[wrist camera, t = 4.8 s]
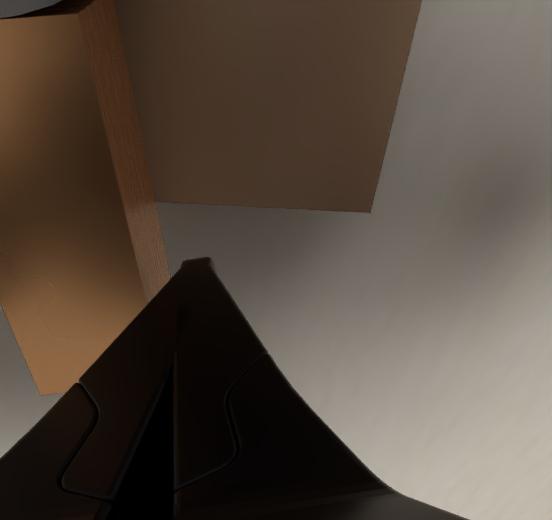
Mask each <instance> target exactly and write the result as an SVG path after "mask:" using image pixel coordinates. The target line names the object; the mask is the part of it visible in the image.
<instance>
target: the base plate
mask: <svg viewBox="0 0 552 520" xmlns="http://www.w3.org/2000/svg"><path fill="white" fill-rule="evenodd" d="M114 2H115V7H116V12H117V17H118V21H119V26H120V31H121V36H122V41H123V46H124V51H125V56H126V61H127V66H128V71H129V76H130V81H131V86H132V91H133V96H134V101H135V106H136V111H137V116H138V121H139V126H140V131H141V136H142V141H143V146H144V150H145V155H146V160H147V165H148V170H149V175H150V180H151V185H152V190H153V195H154V200H155V201H156V202H175V203H194V204H213V205H232V206H251V207H270V208H289V209H308V210H327V211H346V212H364V213H371V209H372V204H373V200H374V196H375V192H376V188H377V184H378V180H379V176H380V171H381V167H382V163H383V159H384V155H385V151H386V147H387V143H388V138H389V134H390V130H391V126H392V122H393V118H394V114H395V110H396V105H397V101H398V97H399V93H400V89H401V85H402V81H403V77H404V72H405V68H406V64H407V60H408V56H409V52H410V48H411V44H412V39H413V35H414V31H415V27H416V23H417V19H418V15H419V11H420V6H421V2H422V0H114Z"/></svg>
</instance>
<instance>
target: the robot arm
mask: <svg viewBox="0 0 552 520" xmlns="http://www.w3.org/2000/svg"><path fill="white" fill-rule="evenodd" d="M78 382H79V383H74V384H73V386H72V387H71V388H70V389H69V390H68V391H67V392H66V393H65V394H64V395H63V396H62V398H61V399H60V400H59V401H58V402H57V403H56V404H55V405H54V406H53V407H52V408H51V409H50V410H49V411H48V412H47V413H46V414H45V415H44V416H43V417H42V418H41V419H40V420H39V422H38V423H37V424H36V425H35V426H34V427H33V428H32V429H30V430H29V431H28V432H27V433H26V434H25V435H24V436H23V437H22V438H21V439H20V440H19V441H18V442H17V443H16V444H15V445H14V446H13V447H12V448H11V449H10V450H9V451H7V452H6V453H5V454H4V455H3V456H2V457H1V458H0V520H469V519H466V518H463V517H461V516H458V515H455V514H453V513H450V512H447V511H445V510H442V509H439V508H436V507H434V506H431V505H428V504H426V503H423V502H420V501H418V500H415V499H412V498H410V497H407V496H405V495H402V494H401V493H399V492H397V491H395V490H394V489H392V488H391V487H389V486H388V485H387V484H385V483H384V482H383V481H382V480H380V479H379V478H378V477H377V476H376V475H375V474H374V473H373V472H372V471H371V470H370V469H369V468H367V467H366V466H365V465H364V464H363V462H362V461H361V460H360V459H359V458H358V457H357V456H356V455H355V454H354V453H353V452H352V451H351V450H350V449H349V448H348V447H347V446H346V445H345V444H344V443H343V441H342V440H341V439H340V438H339V437H338V436H337V435H336V434H335V433H334V432H333V431H332V430H331V429H330V428H329V427H328V426H327V425H326V424H325V423H324V422H323V420H322V419H321V418H320V417H319V416H318V415H317V414H316V413H315V412H314V411H313V410H312V409H311V408H310V407H309V405H308V404H307V403H306V402H305V401H304V400H303V399H302V397H301V396H300V395H299V394H298V393H297V392H296V391H295V389H294V388H293V387H292V386H291V384H290V383H289V382H288V380H287V379H286V377H285V376H284V375H283V373H282V372H281V371H280V369H279V368H278V366H277V365H276V363H275V362H274V360H273V359H272V357H271V356H270V355H269V354H268V352H267V350H266V349H265V347H264V346H263V344H262V342H261V341H260V339H259V338H258V336H257V335H256V333H255V332H254V330H253V329H252V327H251V326H250V324H249V323H248V321H247V320H246V318H245V317H244V315H243V314H242V312H241V311H240V309H239V307H238V306H237V304H236V303H235V301H234V300H233V298H232V297H231V295H230V294H229V292H228V291H227V289H226V288H225V286H224V285H223V283H222V282H221V280H220V279H219V277H218V275H217V274H216V271H215V267H214V263H213V260H212V259H211V258H210V257H203V258H197V259H190V260H185V261H183V263H182V265H181V268H180V269H179V270H178V271H177V272H176V273H175V275H174V276H173V277H172V278H171V279H170V280H169V281H168V282H167V283H166V284H165V285H164V287H163V288H162V289H161V290H160V291H159V292H158V293H157V294H156V295H155V296H154V297H153V299H152V300H151V301H150V302H149V303H148V304H147V305H146V306H145V307H144V308H143V309H142V311H141V312H140V313H139V314H138V315H137V316H136V317H135V318H134V319H133V320H132V321H131V323H130V324H129V325H128V326H127V327H126V328H125V329H124V330H123V331H122V332H121V333H120V335H119V336H118V337H117V338H116V339H115V340H114V341H113V342H112V343H111V344H110V345H109V347H108V348H107V349H106V350H105V351H104V352H103V353H102V354H101V355H100V356H99V357H98V359H97V360H96V361H95V362H94V363H93V364H92V365H91V366H90V367H89V368H88V369H87V371H86V372H85V373H84V374H83V375H82V376H81V377H80V378H79V380H78Z"/></svg>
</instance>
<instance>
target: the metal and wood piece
mask: <svg viewBox="0 0 552 520" xmlns="http://www.w3.org/2000/svg"><path fill="white" fill-rule="evenodd" d="M169 280H170V274H169V270H168V265H167V260H166V255H165V250H164V245H163V240H162V235H161V230H160V225H159V220H158V215H157V210H156V205H155V200H154V195H153V190H152V185H151V180H150V175H149V170H148V165H147V160H146V155H145V150H144V146H143V141H142V136H141V131H140V126H139V121H138V116H137V111H136V106H135V101H134V96H133V91H132V86H131V81H130V76H129V71H128V66H127V61H126V56H125V51H124V46H123V41H122V36H121V31H120V26H119V21H118V17H117V12H116V7H115V2H114V0H0V303H1V306H2V308H3V310H4V313H5V315H6V317H7V320H8V322H9V324H10V326H11V329H12V331H13V333H14V336H15V338H16V340H17V342H18V345H19V347H20V349H21V352H22V354H23V356H24V359H25V361H26V363H27V365H28V368H29V370H30V372H31V375H32V377H33V379H34V381H35V384H36V386H37V388H38V391H39V393H40V395H47V394H55V393H63V392H67V391H68V390H69V389H70V388H71V387H72V386H73V384H74V383H79V382H78V380H79V378H80V377H81V376H82V375H83V374H84V373H85V372H86V371H87V369H88V368H89V367H90V366H91V365H92V364H93V363H94V362H95V361H96V360H97V359H98V357H99V356H100V355H101V354H102V353H103V352H104V351H105V350H106V349H107V348H108V347H109V345H110V344H111V343H112V342H113V341H114V340H115V339H116V338H117V337H118V336H119V335H120V333H121V332H122V331H123V330H124V329H125V328H126V327H127V326H128V325H129V324H130V323H131V321H132V320H133V319H134V318H135V317H136V316H137V315H138V314H139V313H140V312H141V311H142V309H143V308H144V307H145V306H146V305H147V304H148V303H149V302H150V301H151V300H152V299H153V297H154V296H155V295H156V294H157V293H158V292H159V291H160V290H161V289H162V288H163V287H164V285H165V284H166V283H167V282H168V281H169Z"/></svg>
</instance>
